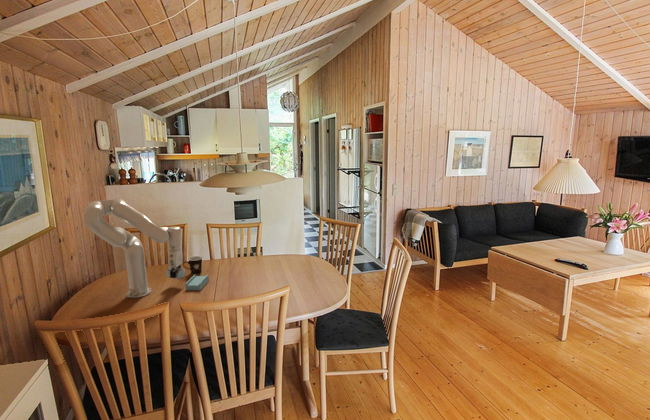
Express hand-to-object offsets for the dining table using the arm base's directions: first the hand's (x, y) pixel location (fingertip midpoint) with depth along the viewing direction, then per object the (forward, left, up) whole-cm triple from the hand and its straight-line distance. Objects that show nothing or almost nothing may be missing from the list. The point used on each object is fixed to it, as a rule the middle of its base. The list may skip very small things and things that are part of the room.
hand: (175, 274), depth 219 cm
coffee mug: (+21, -3, -7) cm, 22 cm away
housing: (0, 0, -1) cm, 1 cm away
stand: (+1, -13, -7) cm, 14 cm away
